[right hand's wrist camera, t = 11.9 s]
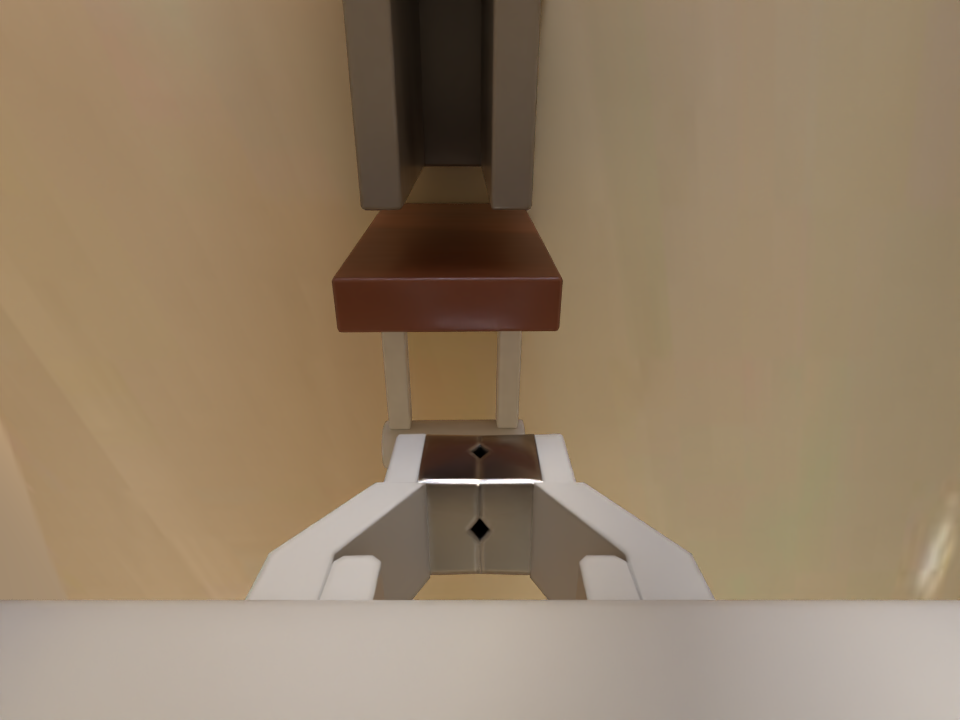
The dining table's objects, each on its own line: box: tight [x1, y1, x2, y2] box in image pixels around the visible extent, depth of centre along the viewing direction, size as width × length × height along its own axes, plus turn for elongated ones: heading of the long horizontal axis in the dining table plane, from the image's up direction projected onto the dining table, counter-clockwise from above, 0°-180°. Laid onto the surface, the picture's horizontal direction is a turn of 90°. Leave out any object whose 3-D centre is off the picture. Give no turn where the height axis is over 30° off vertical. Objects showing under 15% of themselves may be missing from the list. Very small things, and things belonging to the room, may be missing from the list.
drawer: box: [332, 0, 563, 468], centre depth 12 cm, size 23×5×8 cm, turn 0°
